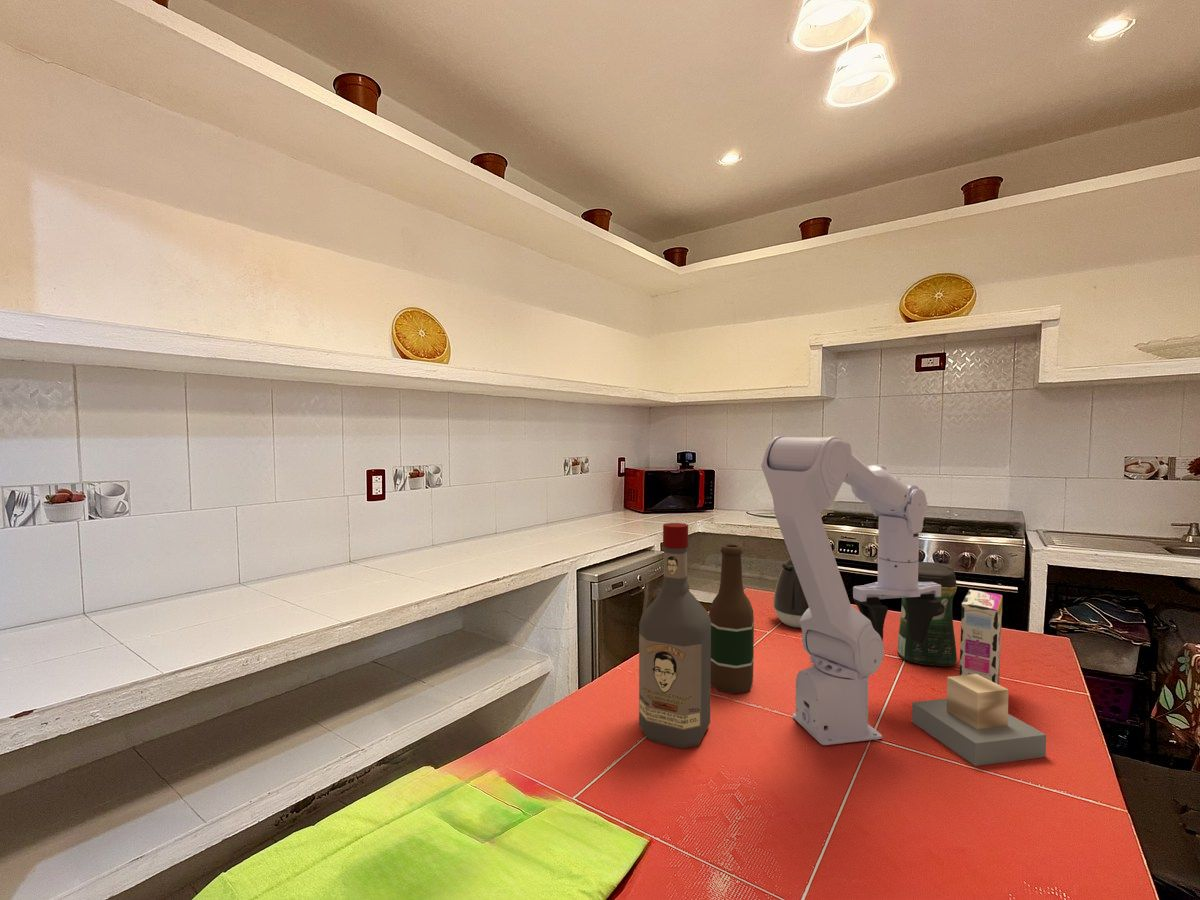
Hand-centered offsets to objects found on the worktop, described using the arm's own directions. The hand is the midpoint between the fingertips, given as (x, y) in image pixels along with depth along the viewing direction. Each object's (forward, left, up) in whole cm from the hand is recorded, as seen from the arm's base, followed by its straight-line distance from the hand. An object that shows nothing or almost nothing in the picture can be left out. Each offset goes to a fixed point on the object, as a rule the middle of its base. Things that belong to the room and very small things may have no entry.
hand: (896, 642), depth 88 cm
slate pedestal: (+3, -12, -9) cm, 16 cm away
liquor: (-38, -2, -10) cm, 39 cm away
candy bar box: (+14, -2, -10) cm, 17 cm away
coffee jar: (+17, +13, -10) cm, 23 cm away
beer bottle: (-24, +10, -10) cm, 28 cm away
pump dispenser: (+3, +35, -10) cm, 36 cm away
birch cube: (+3, -12, -6) cm, 14 cm away
